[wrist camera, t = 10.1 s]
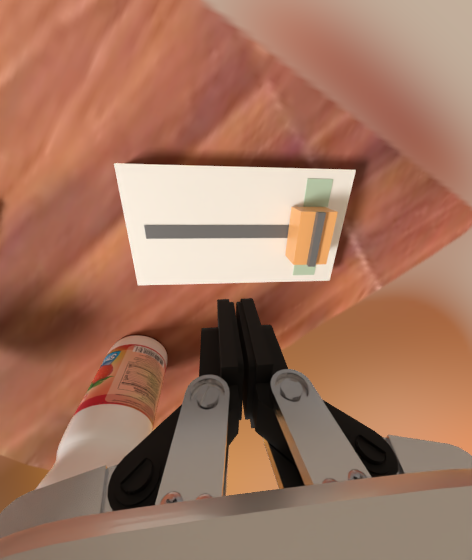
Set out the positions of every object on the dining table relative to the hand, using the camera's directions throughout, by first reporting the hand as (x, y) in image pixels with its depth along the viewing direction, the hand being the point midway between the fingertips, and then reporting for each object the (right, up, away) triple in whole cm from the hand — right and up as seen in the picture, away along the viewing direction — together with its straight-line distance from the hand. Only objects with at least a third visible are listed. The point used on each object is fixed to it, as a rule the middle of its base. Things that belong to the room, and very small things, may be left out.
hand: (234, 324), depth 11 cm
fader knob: (+8, +8, +17) cm, 20 cm away
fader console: (0, +9, +19) cm, 21 cm away
